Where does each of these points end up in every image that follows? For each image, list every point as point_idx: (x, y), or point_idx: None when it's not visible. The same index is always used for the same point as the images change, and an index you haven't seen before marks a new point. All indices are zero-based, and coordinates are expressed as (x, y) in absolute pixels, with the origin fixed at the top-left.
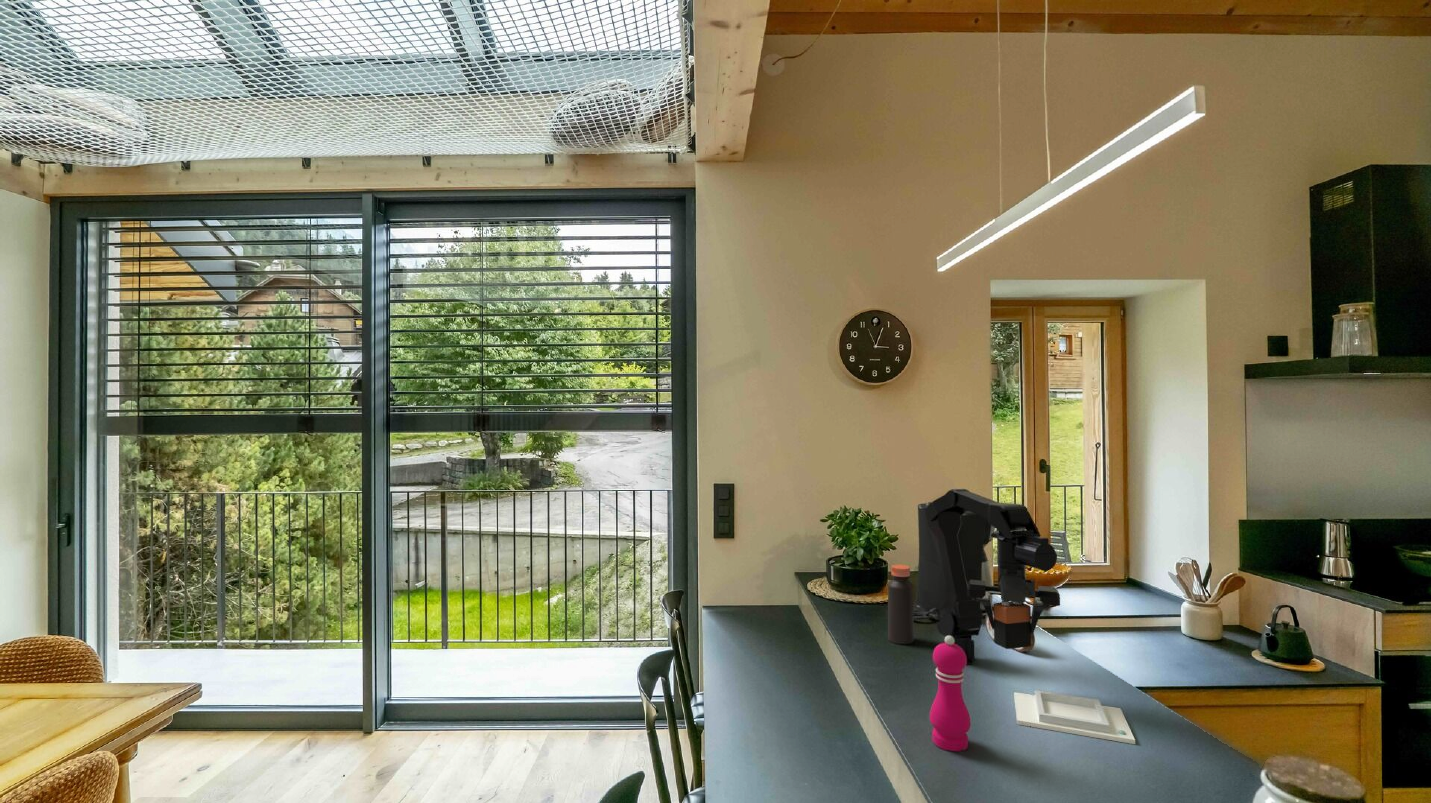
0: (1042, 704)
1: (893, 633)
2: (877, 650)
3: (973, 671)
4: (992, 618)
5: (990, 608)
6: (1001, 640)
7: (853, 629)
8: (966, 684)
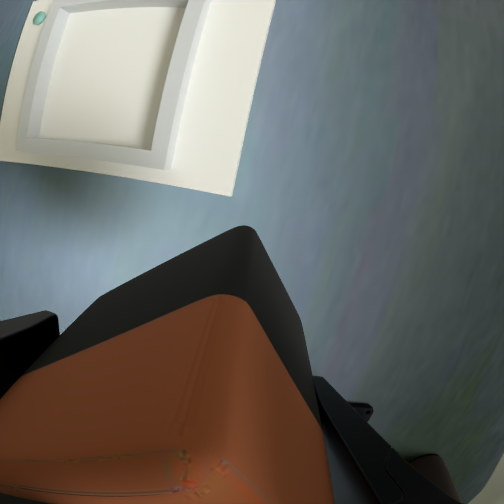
0: (173, 54)
1: (446, 469)
2: (488, 410)
3: (314, 361)
4: (341, 424)
5: (390, 500)
6: (273, 275)
7: (472, 475)
8: (367, 260)
